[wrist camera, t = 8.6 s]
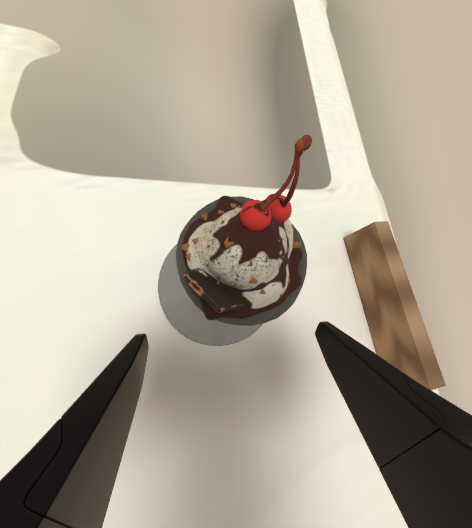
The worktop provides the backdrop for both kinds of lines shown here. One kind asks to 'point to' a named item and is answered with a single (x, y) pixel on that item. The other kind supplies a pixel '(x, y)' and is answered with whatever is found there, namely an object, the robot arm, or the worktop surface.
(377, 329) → the brown wooden plank
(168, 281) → the slate plinth
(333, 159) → the worktop surface
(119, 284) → the worktop surface
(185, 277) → the sundae
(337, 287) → the worktop surface
